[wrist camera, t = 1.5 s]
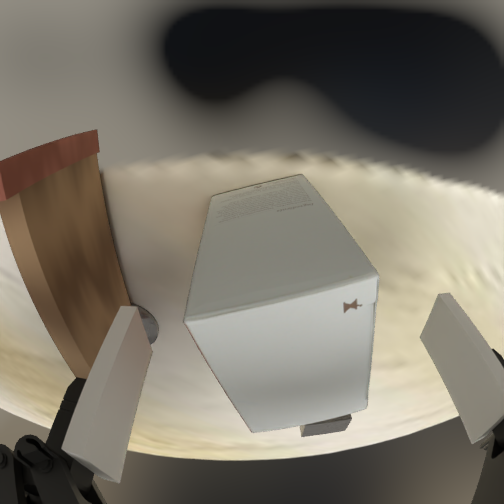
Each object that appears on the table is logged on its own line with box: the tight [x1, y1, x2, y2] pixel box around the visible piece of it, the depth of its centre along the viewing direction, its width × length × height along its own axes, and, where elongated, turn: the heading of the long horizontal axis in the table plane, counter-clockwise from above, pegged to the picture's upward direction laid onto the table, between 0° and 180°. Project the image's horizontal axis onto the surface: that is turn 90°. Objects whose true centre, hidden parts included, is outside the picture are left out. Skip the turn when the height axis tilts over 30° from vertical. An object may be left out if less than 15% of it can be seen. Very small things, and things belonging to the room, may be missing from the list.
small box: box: [183, 175, 379, 433], centre depth 14 cm, size 8×6×10 cm
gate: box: [0, 130, 131, 379], centre depth 13 cm, size 13×2×8 cm, turn 1°
